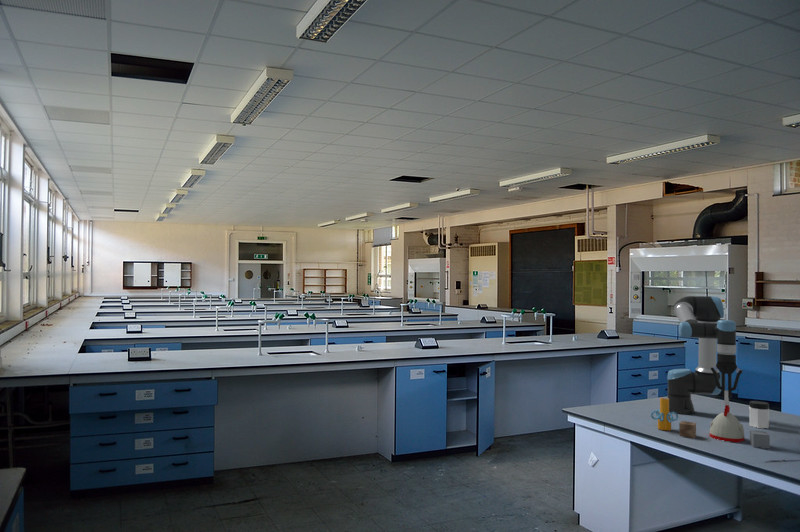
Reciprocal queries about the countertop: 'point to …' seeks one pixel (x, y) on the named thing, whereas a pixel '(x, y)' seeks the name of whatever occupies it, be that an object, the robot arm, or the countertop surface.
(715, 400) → the countertop surface
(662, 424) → the yellow column with loops
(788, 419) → the countertop surface
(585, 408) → the countertop surface
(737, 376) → the robot arm
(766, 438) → the slate block
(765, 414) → the jar
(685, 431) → the walnut block
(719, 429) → the kitchen timer
